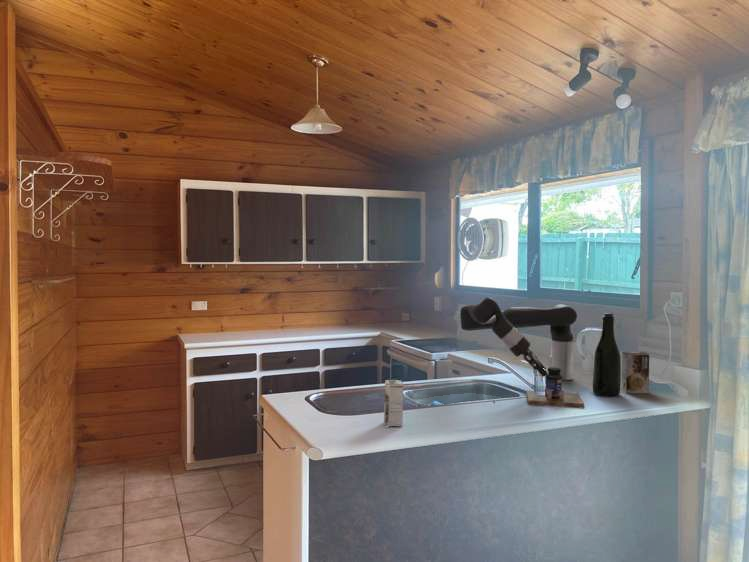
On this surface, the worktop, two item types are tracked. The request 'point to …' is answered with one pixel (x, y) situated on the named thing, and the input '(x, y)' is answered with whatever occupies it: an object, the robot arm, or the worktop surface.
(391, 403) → the syrup box
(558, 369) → the pill bottle
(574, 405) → the pin tray
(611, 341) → the dark green wine bottle
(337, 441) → the worktop surface
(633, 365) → the coffee box
